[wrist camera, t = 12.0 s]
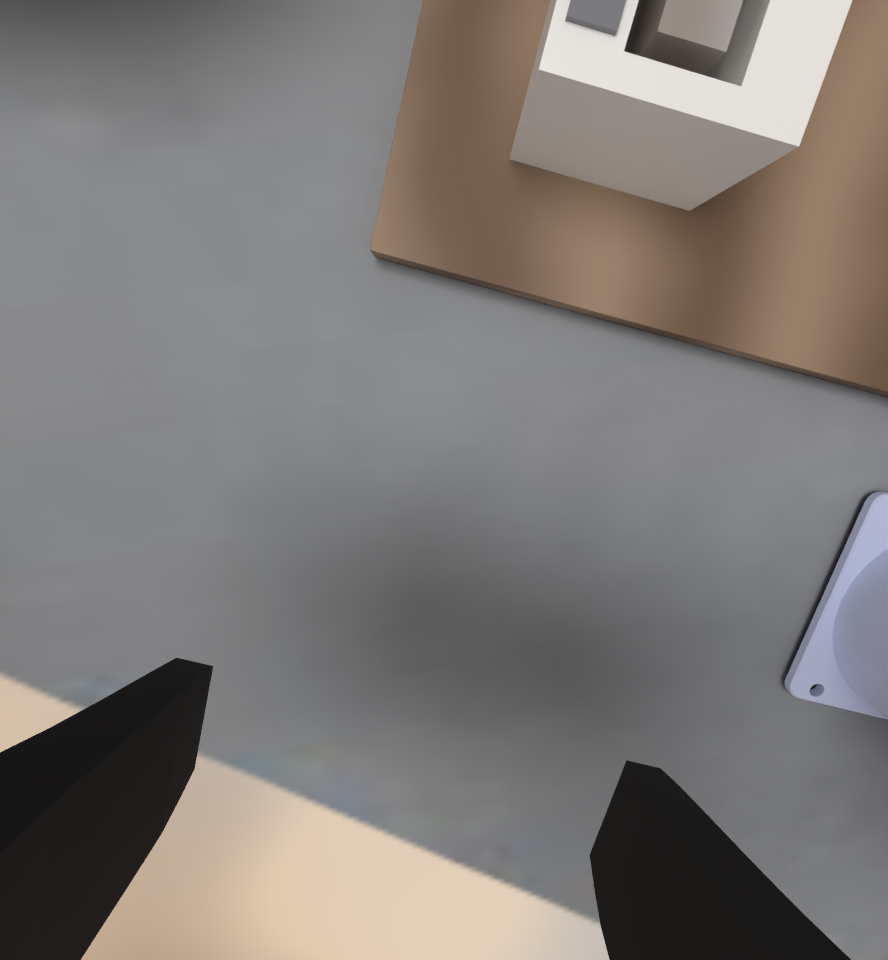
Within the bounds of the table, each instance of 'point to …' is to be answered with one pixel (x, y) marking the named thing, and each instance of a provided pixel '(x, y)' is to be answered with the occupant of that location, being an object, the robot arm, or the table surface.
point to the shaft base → (646, 223)
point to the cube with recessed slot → (673, 99)
